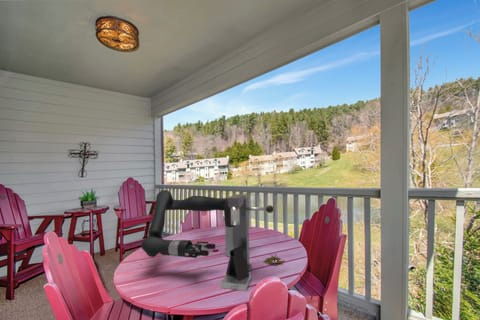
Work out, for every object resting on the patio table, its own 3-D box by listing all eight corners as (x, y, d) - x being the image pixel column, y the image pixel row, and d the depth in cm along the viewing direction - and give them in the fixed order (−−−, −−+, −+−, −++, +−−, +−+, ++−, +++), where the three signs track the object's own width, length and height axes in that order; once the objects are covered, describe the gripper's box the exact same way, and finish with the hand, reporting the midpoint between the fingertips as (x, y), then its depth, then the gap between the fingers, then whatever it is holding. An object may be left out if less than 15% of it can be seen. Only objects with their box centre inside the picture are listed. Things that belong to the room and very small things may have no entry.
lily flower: (289, 261, 120) (289, 253, 120) (277, 269, 111) (277, 260, 111) (271, 256, 128) (271, 248, 128) (258, 263, 119) (258, 254, 119)
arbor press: (233, 267, 114) (232, 193, 115) (276, 271, 108) (273, 194, 110) (221, 287, 94) (219, 199, 96) (271, 293, 89) (268, 199, 91)
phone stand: (226, 274, 101) (225, 248, 102) (235, 269, 105) (234, 244, 106) (239, 281, 95) (238, 252, 95) (249, 276, 99) (248, 249, 100)
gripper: (187, 250, 113) (217, 252, 109) (172, 262, 99) (206, 264, 95) (187, 235, 113) (216, 236, 109) (172, 245, 100) (205, 247, 96)
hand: (211, 249), depth 102 cm, fingers open, 8 cm apart
